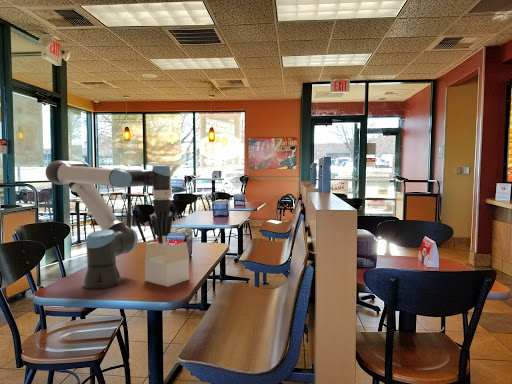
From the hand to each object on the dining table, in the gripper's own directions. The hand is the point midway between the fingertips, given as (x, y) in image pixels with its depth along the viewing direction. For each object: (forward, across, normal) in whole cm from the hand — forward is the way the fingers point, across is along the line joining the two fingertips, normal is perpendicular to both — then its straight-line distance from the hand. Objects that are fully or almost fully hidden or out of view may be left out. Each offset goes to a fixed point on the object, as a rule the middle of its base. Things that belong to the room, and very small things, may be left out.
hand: (162, 249), depth 164 cm
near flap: (0, 0, -9) cm, 9 cm away
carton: (+14, 0, -3) cm, 14 cm away
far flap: (0, 0, +4) cm, 4 cm away
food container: (+14, +25, +37) cm, 47 cm away
